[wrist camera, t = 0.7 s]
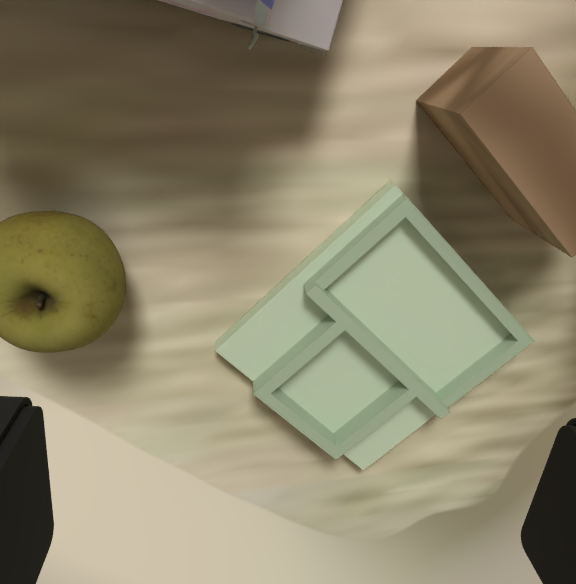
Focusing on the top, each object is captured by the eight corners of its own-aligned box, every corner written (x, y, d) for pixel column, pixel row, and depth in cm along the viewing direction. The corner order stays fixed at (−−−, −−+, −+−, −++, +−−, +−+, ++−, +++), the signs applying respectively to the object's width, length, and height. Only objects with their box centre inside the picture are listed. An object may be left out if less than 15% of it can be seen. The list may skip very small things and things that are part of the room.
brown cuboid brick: (471, 47, 30) (532, 47, 24) (563, 174, 34) (639, 204, 27) (415, 100, 31) (460, 114, 25) (511, 218, 35) (572, 257, 28)
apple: (128, 321, 35) (102, 383, 29) (-2, 295, 34) (-59, 354, 27) (147, 212, 32) (124, 253, 26) (7, 178, 31) (-55, 213, 25)
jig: (390, 180, 33) (402, 191, 30) (524, 331, 38) (544, 350, 36) (216, 341, 36) (213, 362, 34) (359, 459, 42) (367, 485, 39)
